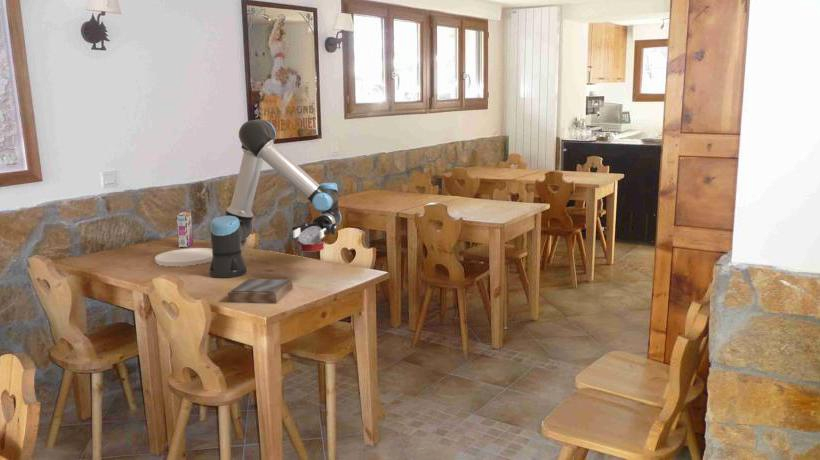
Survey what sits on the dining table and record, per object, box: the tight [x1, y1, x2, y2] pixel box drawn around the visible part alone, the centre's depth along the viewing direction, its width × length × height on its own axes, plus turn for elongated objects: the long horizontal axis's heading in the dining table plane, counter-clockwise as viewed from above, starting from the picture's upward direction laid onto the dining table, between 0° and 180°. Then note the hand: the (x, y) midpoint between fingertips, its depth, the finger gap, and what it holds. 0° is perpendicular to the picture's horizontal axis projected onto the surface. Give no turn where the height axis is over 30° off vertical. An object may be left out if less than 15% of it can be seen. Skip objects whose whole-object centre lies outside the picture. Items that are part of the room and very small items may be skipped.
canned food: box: [297, 226, 325, 253], centre depth 267 cm, size 11×10×10 cm
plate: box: [154, 247, 213, 268], centre depth 314 cm, size 28×28×2 cm
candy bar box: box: [176, 211, 194, 249], centre depth 342 cm, size 11×5×16 cm, turn 5°
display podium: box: [227, 278, 294, 304], centre depth 253 cm, size 18×18×4 cm
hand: (307, 234), depth 262 cm, fingers closed on canned food, 10 cm apart
